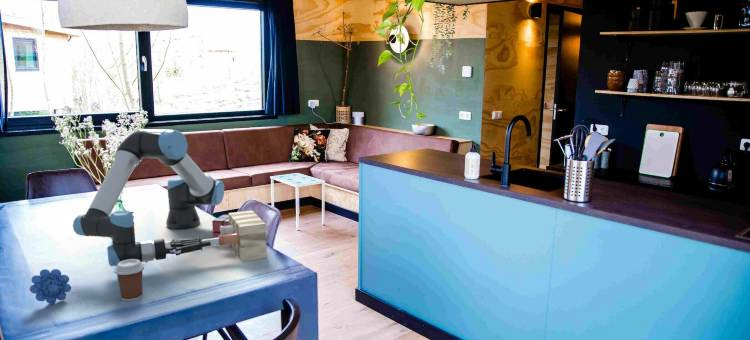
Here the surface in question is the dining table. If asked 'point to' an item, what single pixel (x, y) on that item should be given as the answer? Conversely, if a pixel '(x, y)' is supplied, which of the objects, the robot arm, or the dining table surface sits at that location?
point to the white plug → (226, 230)
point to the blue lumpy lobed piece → (50, 286)
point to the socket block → (249, 235)
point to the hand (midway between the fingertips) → (218, 241)
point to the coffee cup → (130, 279)
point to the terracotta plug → (228, 239)
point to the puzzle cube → (219, 224)
